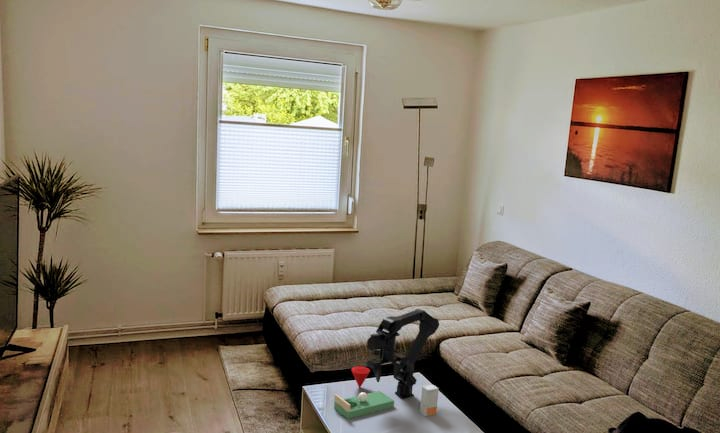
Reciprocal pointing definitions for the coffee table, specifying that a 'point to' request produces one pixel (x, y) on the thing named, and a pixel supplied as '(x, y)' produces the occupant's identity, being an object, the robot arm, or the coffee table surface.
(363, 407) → the putting mat
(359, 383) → the gemstone
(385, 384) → the coffee table surface
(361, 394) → the ball
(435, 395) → the skincare box
